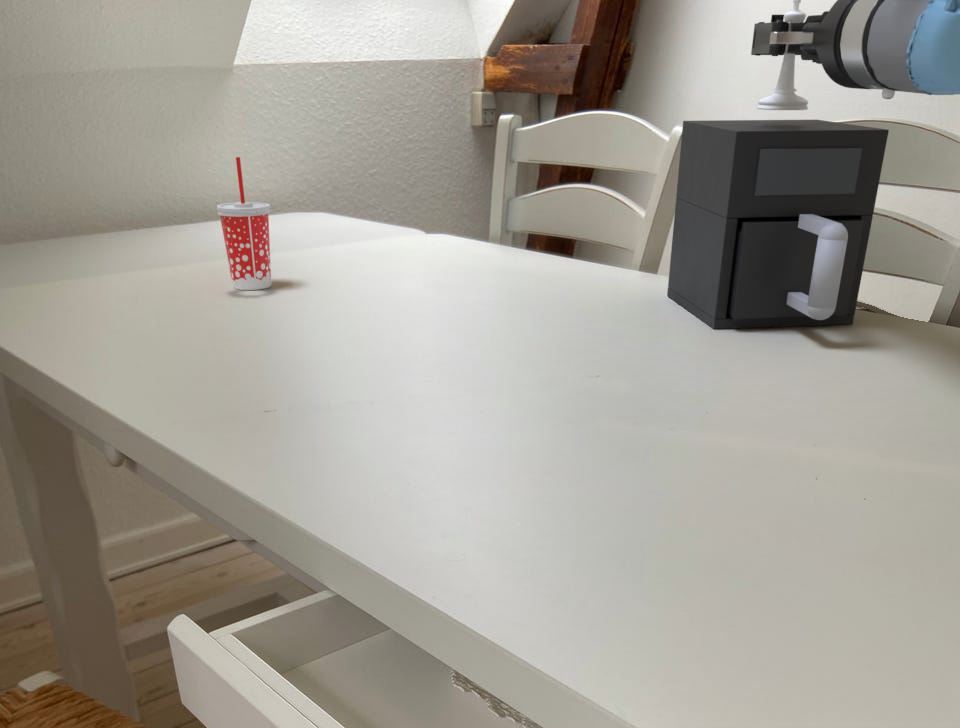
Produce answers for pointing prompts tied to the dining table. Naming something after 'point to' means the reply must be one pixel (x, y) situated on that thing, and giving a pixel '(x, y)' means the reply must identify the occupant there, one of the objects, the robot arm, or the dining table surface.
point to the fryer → (764, 200)
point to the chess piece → (786, 76)
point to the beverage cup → (247, 240)
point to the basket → (793, 267)
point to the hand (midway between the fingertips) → (769, 39)
